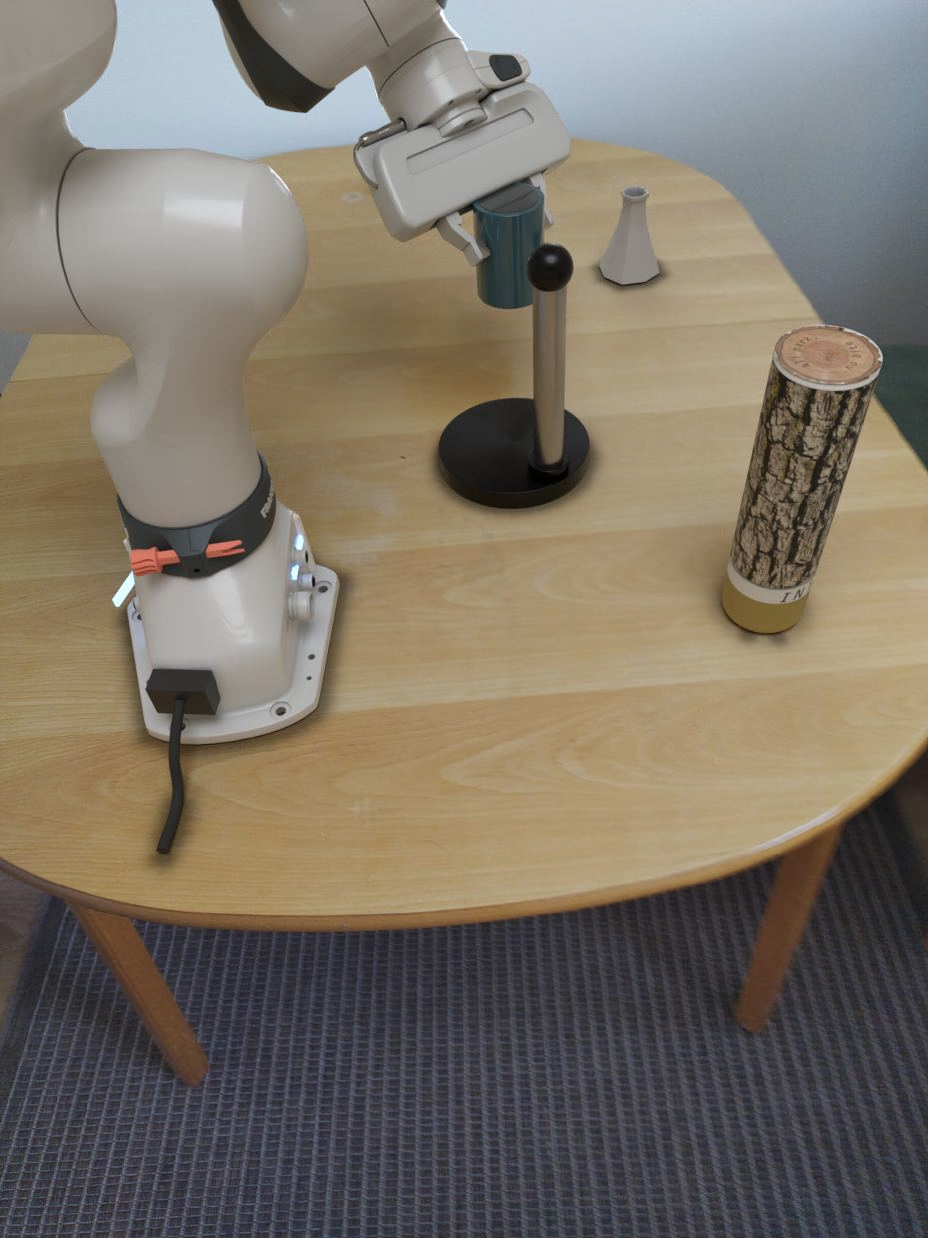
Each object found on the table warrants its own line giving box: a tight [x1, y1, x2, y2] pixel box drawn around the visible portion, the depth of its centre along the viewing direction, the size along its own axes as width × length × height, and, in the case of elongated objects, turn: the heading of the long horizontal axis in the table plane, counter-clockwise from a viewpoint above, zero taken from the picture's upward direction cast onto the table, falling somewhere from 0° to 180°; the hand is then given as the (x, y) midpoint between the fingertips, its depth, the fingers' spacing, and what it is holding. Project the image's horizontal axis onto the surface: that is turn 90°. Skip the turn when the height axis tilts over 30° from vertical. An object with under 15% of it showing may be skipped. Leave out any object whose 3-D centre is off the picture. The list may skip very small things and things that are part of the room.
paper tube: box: [721, 324, 884, 634], centre depth 71 cm, size 7×7×25 cm
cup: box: [472, 182, 546, 310], centre depth 87 cm, size 6×6×9 cm
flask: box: [598, 184, 660, 285], centre depth 114 cm, size 7×7×10 cm
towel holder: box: [438, 242, 590, 510], centre depth 86 cm, size 15×15×24 cm
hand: (514, 245), depth 86 cm, fingers closed on cup, 6 cm apart
